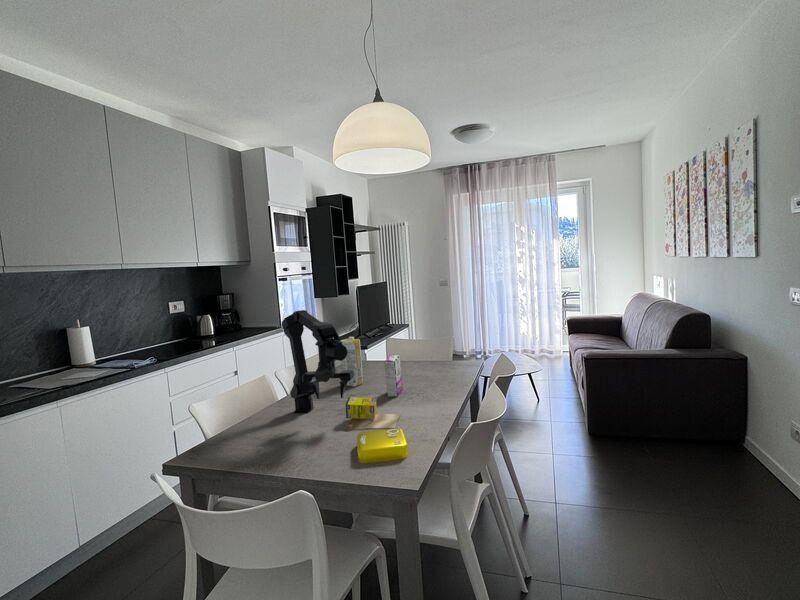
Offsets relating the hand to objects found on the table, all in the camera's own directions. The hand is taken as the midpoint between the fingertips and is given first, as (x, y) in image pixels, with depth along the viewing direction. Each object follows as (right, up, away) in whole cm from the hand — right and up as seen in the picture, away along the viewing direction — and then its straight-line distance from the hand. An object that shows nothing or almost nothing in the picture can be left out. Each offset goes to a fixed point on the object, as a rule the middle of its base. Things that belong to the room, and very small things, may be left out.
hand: (330, 398), depth 164 cm
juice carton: (+3, -5, +53) cm, 53 cm away
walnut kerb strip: (+9, -9, -1) cm, 13 cm away
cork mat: (+18, -8, -2) cm, 20 cm away
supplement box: (+6, -4, +1) cm, 7 cm away
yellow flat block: (+21, -11, -28) cm, 36 cm away
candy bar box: (+24, -5, +33) cm, 42 cm away
